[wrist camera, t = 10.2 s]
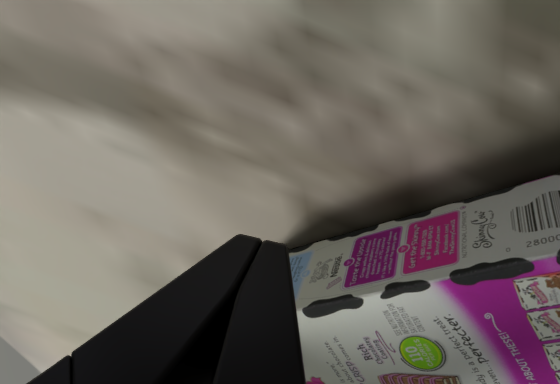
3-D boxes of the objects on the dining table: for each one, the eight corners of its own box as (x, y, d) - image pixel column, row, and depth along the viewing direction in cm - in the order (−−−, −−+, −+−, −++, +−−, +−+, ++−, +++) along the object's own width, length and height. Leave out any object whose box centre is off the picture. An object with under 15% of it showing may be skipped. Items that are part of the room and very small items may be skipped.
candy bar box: (633, 143, 19) (260, 251, 27) (679, 227, 15) (226, 325, 23) (695, 353, 23) (357, 392, 31) (743, 462, 19) (342, 475, 27)
